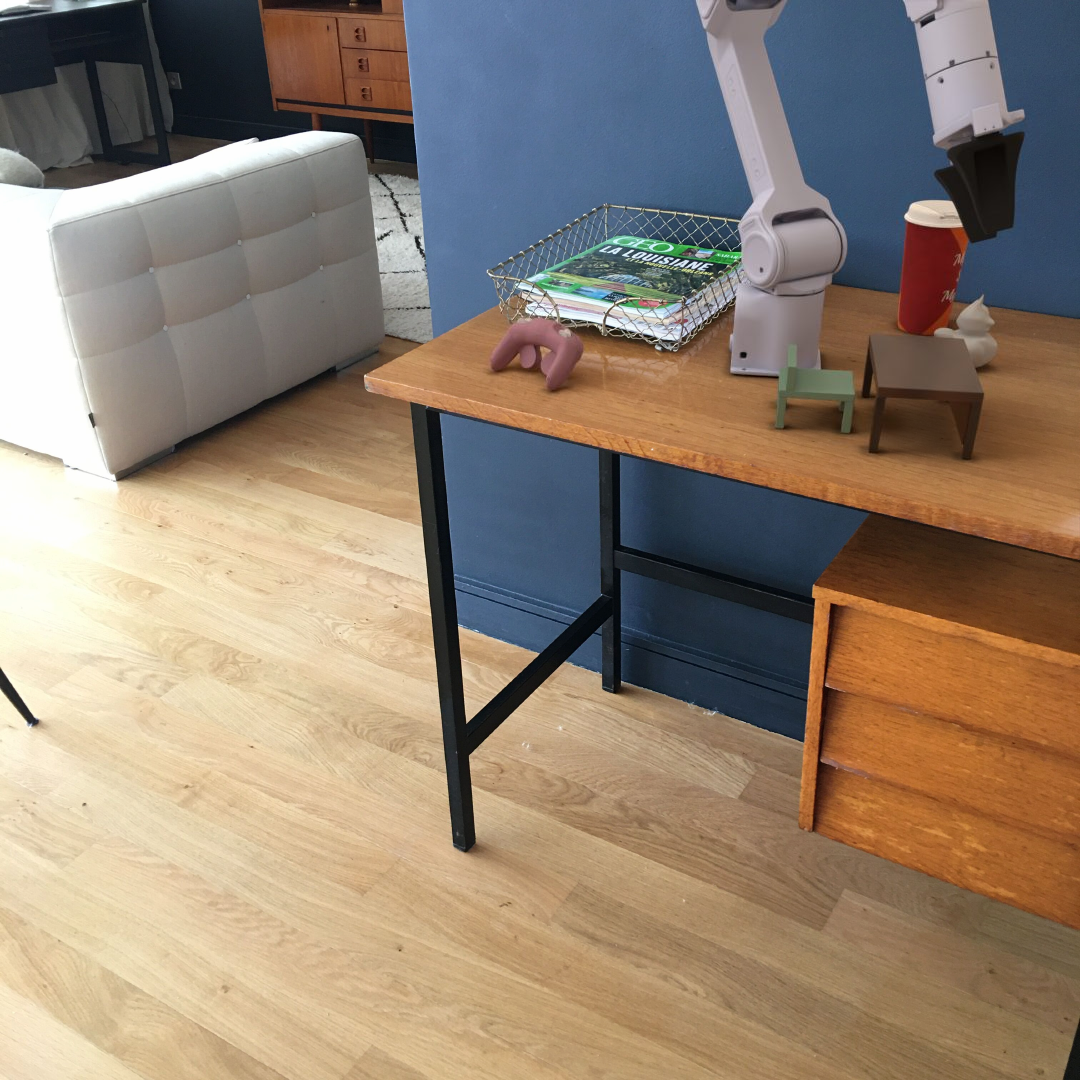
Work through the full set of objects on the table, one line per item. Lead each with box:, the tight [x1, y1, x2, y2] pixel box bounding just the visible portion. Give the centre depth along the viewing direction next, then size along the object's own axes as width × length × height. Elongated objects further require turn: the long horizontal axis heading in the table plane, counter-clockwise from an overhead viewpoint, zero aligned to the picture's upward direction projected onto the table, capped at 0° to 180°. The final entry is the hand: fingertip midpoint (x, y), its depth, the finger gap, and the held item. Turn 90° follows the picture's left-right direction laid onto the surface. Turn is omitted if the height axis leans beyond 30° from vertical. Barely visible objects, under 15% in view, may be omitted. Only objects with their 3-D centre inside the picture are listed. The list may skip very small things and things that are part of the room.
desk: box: [860, 333, 985, 460], centre depth 104 cm, size 9×14×6 cm, turn 169°
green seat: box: [774, 344, 856, 434], centre depth 106 cm, size 7×6×6 cm
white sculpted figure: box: [933, 293, 998, 369], centre depth 117 cm, size 5×7×8 cm
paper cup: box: [897, 199, 969, 336], centre depth 126 cm, size 8×8×14 cm
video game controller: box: [489, 317, 585, 391], centre depth 118 cm, size 10×5×7 cm, turn 47°
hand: (991, 236), depth 92 cm, fingers open, 7 cm apart
